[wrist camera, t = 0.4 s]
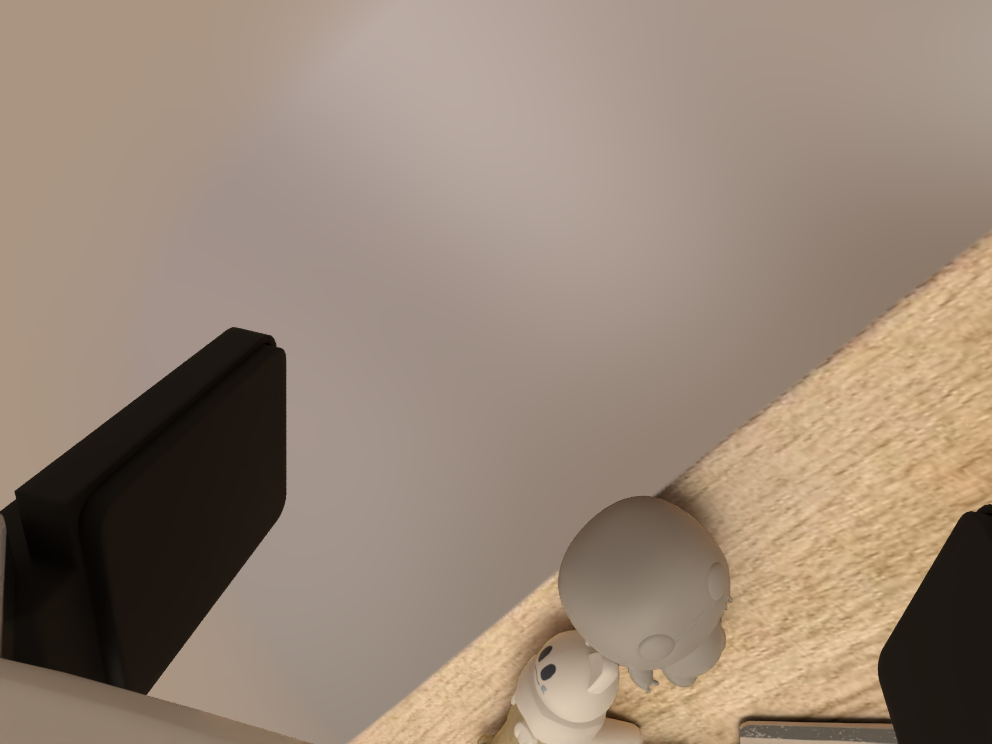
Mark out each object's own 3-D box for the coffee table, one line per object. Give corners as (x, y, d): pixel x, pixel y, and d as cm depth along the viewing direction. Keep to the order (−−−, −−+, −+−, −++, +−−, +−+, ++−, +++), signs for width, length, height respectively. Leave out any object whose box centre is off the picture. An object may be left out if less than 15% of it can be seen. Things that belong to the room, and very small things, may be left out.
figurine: (704, 769, 37) (608, 658, 30) (611, 674, 43) (514, 565, 36) (805, 651, 38) (735, 521, 32) (701, 575, 44) (624, 454, 38)
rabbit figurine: (452, 753, 50) (553, 585, 41) (579, 766, 53) (700, 611, 44) (456, 837, 46) (569, 670, 37) (594, 848, 48) (731, 694, 39)
